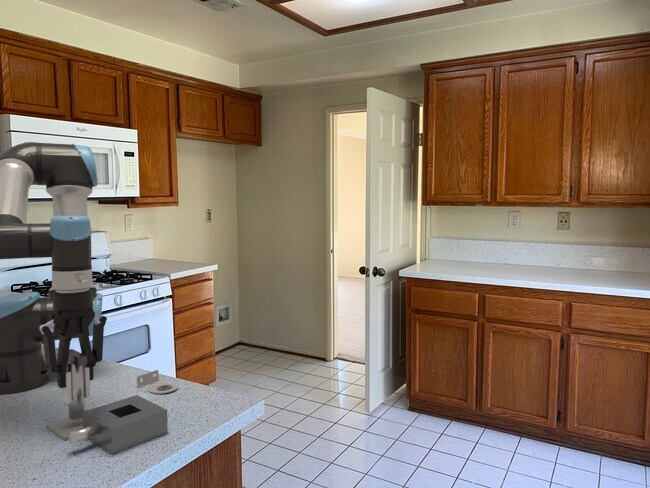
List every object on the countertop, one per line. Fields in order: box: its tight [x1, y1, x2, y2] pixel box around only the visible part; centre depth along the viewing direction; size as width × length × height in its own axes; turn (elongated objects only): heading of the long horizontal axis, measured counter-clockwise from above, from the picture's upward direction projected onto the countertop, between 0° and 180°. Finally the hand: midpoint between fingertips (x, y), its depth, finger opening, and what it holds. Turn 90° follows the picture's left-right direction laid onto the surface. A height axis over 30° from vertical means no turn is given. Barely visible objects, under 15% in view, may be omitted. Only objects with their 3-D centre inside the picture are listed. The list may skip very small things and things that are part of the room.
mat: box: [45, 417, 83, 441], centre depth 108 cm, size 9×9×1 cm
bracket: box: [136, 369, 179, 395], centre depth 130 cm, size 7×10×4 cm, turn 57°
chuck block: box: [68, 394, 169, 455], centre depth 103 cm, size 12×17×5 cm
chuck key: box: [67, 348, 87, 420], centre depth 107 cm, size 7×3×14 cm, turn 50°
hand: (76, 398), depth 107 cm, fingers closed on chuck key, 3 cm apart
